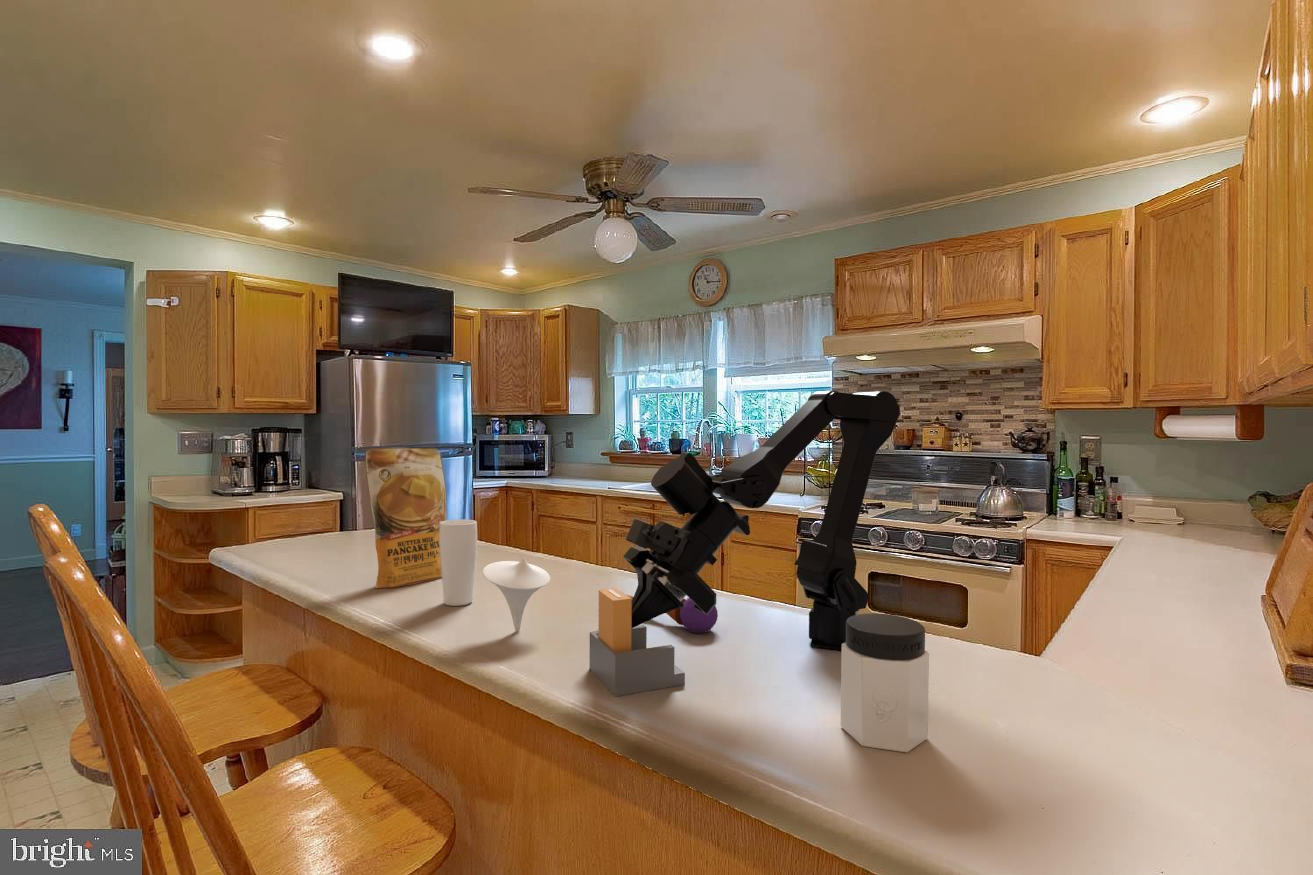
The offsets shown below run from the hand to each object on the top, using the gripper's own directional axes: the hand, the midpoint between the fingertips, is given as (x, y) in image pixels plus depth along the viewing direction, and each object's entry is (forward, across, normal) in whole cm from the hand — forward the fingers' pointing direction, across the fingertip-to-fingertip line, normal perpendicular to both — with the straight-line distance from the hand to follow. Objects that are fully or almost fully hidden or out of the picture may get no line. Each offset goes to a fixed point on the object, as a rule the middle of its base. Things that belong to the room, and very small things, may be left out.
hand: (625, 626), depth 87 cm
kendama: (-6, -20, +16) cm, 26 cm away
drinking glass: (+16, -45, -6) cm, 48 cm away
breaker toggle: (+5, 0, +2) cm, 5 cm away
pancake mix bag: (+21, -66, -11) cm, 70 cm away
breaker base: (+4, 0, +6) cm, 7 cm away
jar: (-9, +25, +19) cm, 33 cm away
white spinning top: (+11, -25, -1) cm, 27 cm away
